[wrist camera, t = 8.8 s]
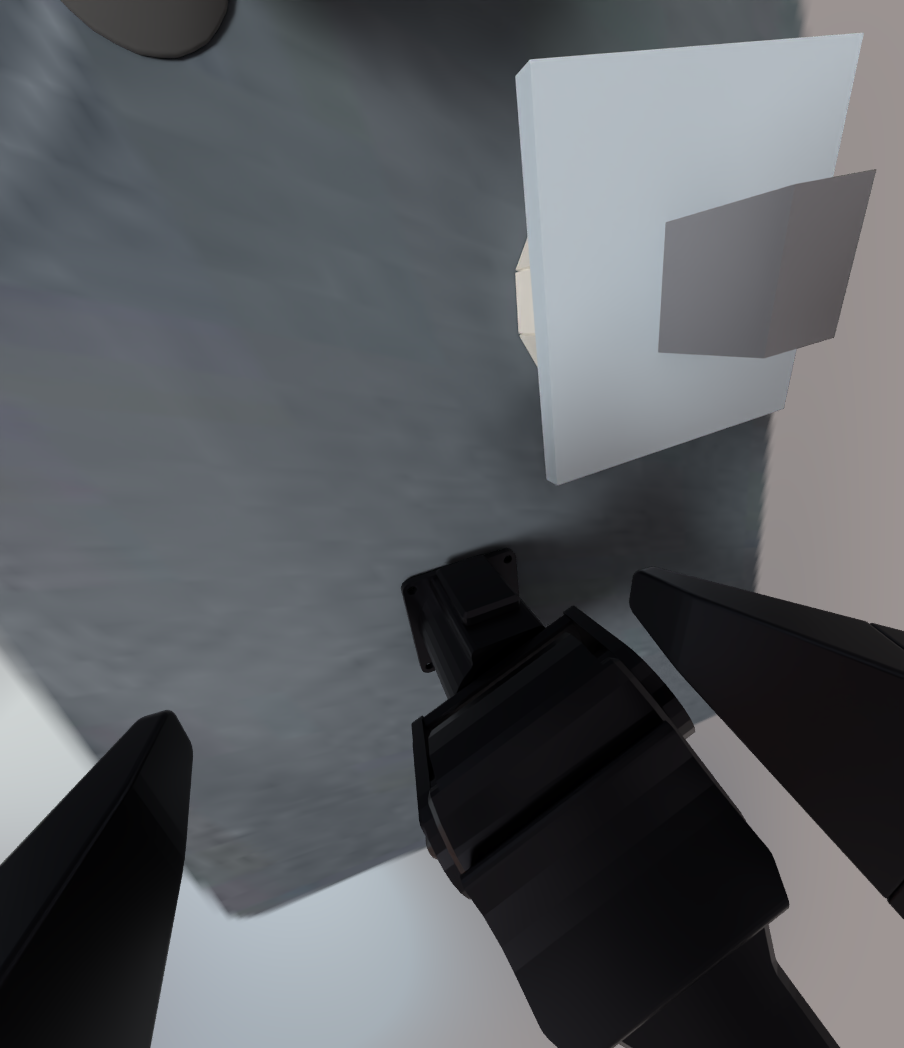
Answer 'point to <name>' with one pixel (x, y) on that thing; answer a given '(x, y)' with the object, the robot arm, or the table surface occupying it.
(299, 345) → the table surface
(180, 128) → the table surface
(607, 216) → the lid
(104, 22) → the sundae
